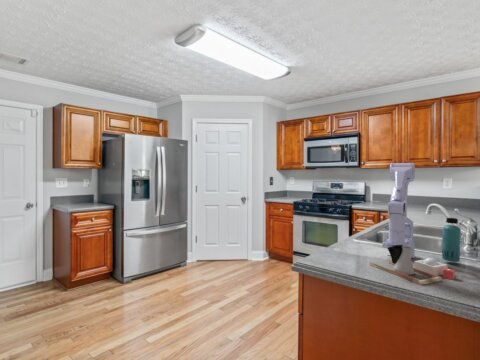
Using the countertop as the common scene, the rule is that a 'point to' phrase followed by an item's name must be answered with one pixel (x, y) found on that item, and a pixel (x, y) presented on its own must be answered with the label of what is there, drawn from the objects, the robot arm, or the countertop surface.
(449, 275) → the red die
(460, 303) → the countertop surface
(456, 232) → the beverage bottle
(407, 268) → the flask
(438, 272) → the dome housing
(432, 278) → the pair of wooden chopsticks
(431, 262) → the dome
